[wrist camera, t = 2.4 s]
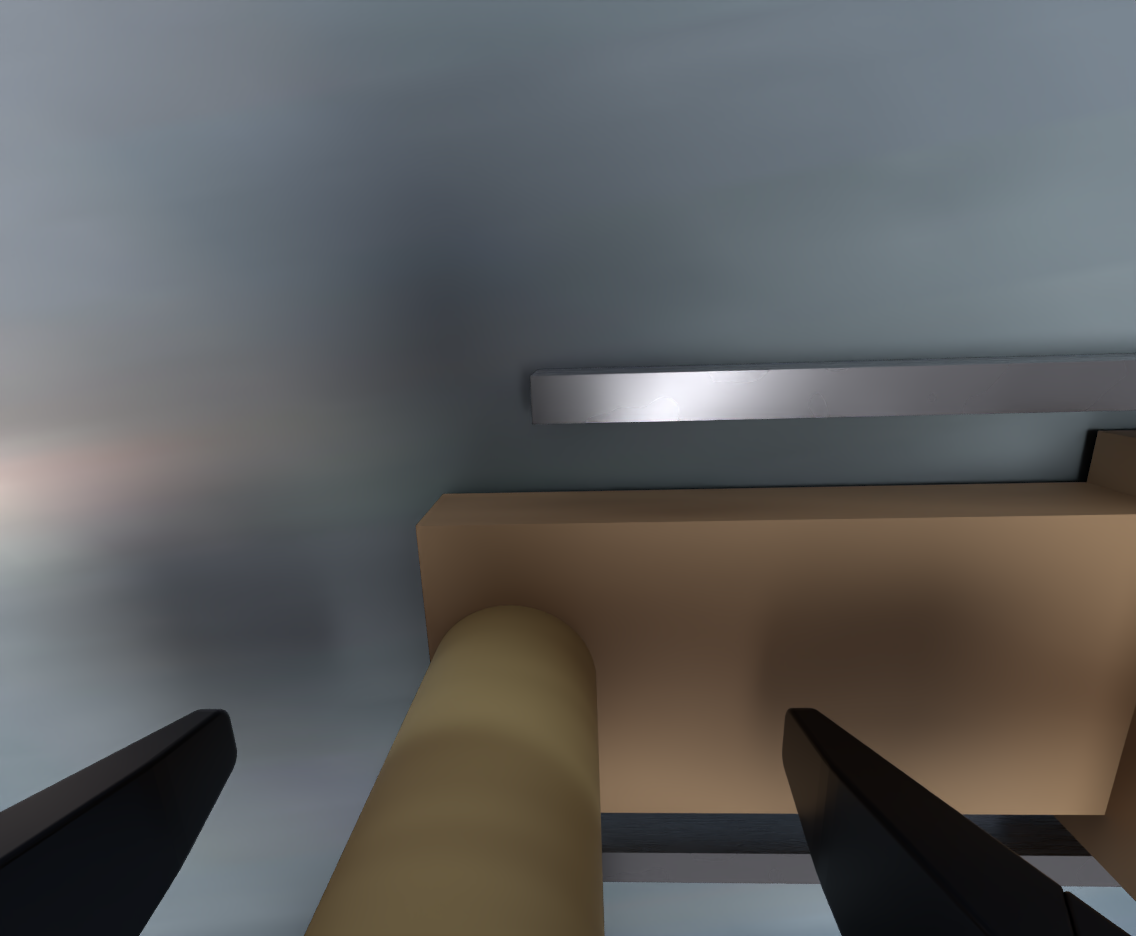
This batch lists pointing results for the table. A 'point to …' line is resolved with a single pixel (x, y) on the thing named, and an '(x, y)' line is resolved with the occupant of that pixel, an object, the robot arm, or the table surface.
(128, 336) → the table surface
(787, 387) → the clamp rails
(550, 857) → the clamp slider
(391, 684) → the table surface
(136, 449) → the table surface
